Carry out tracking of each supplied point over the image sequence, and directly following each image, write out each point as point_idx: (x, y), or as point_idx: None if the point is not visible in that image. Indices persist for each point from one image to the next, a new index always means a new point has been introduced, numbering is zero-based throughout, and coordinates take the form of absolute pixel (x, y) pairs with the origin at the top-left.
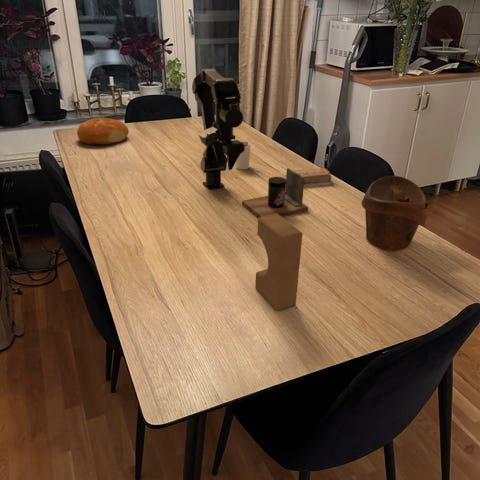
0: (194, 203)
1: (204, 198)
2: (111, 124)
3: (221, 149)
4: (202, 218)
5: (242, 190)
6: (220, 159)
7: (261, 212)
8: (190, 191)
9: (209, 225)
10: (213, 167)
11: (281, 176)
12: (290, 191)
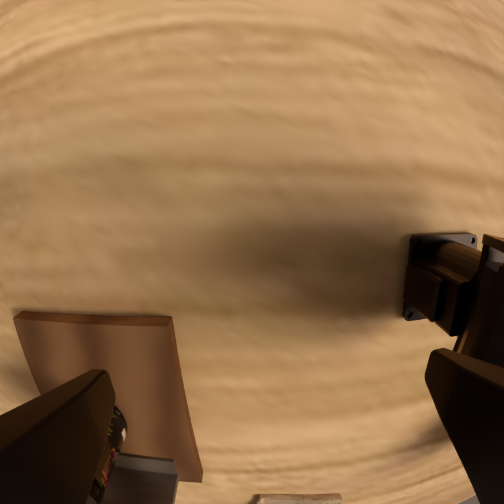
0: (282, 91)
1: (323, 165)
2: None
3: (490, 479)
4: (103, 82)
5: (326, 377)
6: (431, 390)
7: (43, 338)
8: (427, 139)
9: (42, 101)
10: (475, 301)
11: (341, 499)
12: (140, 487)
